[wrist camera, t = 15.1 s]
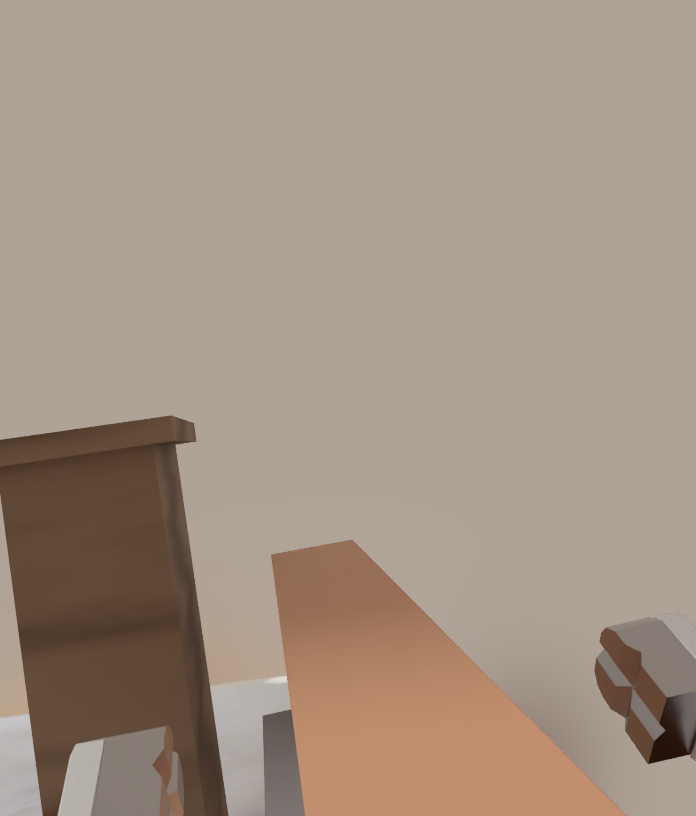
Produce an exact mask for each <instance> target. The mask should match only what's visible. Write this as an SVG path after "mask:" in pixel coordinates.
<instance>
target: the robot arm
mask: <svg viewBox="0 0 696 816" xmlns="http://www.w3.org/2000/svg"><path fill="white" fill-rule="evenodd" d="M600 643H601V644H602V646H603V647H604V650H603V651H602V652H601V653H600V654H599V656H598V657H597V658H596V664H595V675H596V679H597V684H598V687H599V689H600V691H601V693H602V695H603V698H604V699H605V701H606V702H607V704H608V705H609V707H610V708H611V709H612V710H613V711H615V712H617V713H618V714H620V715H622V716H623V717H625V718H626V723H625V726H626V727H625V730H626V732H627V734H628V735H629V737H630V738H631V740H632V741H633V742H634V744H635V746H636V747H637V749H638V750H639V752H640V753H641V754H642V756H643V757H644V759H645V760H646V762H647V763H648V764H650V763H655V762H659V761H664V760H667V759H672V758H676V757H681V756H685V755H689V754H691V758H693V759H694V760H695V761H696V627H695V626H694V625H693V624H692V622H691V621H690V620H689V619H688V618H687V617H686V616H685V615H683V614H681V613H679V612H674V613H669V614H665V615H661V616H657V617H653V618H651V617H648V618H645V619H640V620H636V621H632V622H627V623H623V624H619V625H615V626H611V627H607V628H605V629H604V630H603V631H602V633H601V637H600ZM183 814H184V785H183V773H182V767H181V762H180V758H179V755H178V753H176V752H174V751H173V735H172V732H171V729H170V726H169V725H168V726H163V727H158V728H153V729H148V730H143V731H138V732H133V733H127V734H122V735H117V736H112V737H107V738H102V739H97V740H93V741H88V742H83V743H79V744H76V745H75V747H74V749H73V751H72V753H71V755H70V759H69V764H68V769H67V773H66V778H65V783H64V788H63V793H62V797H61V802H60V807H59V812H58V816H182V815H183Z"/></svg>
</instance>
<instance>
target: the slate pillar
mask: <svg viewBox="0 0 696 816" xmlns="http://www.w3.org/2000/svg"><path fill="white" fill-rule="evenodd" d="M263 742H264V778H265V814H266V816H305V810H304V802H303V795H302V787H301V779H300V772H299V764H298V756H297V749H296V741H295V733H294V726H293V718H292V710H287V711H282V712H278V713H273V714H269V715H264V716H263Z"/></svg>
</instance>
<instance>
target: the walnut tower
mask: <svg viewBox="0 0 696 816" xmlns="http://www.w3.org/2000/svg"><path fill="white" fill-rule="evenodd" d="M195 441H196V436H195V429H194V423H192V422H189V421H186V420H183V419H180V418H177V417H174V416H165V417H158V418H151V419H144V420H137V421H131V422H124V423H116V424H109V425H102V426H95V427H88V428H82V429H74V430H67V431H60V432H53V433H46V434H40V435H32V436H25V437H18V438H11V439H4V440H0V495H1V503H2V510H3V517H4V525H5V532H6V540H7V548H8V555H9V563H10V571H11V578H12V585H13V592H14V601H15V608H16V616H17V623H18V631H19V638H20V646H21V653H22V661H23V669H24V676H25V684H26V691H27V698H28V707H29V714H30V722H31V729H32V737H33V744H34V752H35V759H36V767H37V775H38V782H39V790H40V797H41V805H42V812H43V816H58V812H59V807H60V802H61V797H62V793H63V788H64V783H65V778H66V773H67V769H68V764H69V759H70V755H71V753H72V751H73V749H74V747H75V745H76V744H79V743H83V742H88V741H93V740H97V739H102V738H107V737H112V736H117V735H122V734H127V733H133V732H138V731H143V730H148V729H153V728H158V727H163V726H168V725H169V726H170V729H171V732H172V735H173V751H174V752H176V753H178V755H179V758H180V762H181V767H182V773H183V785H184V814H183V815H182V816H228V810H227V803H226V796H225V789H224V782H223V775H222V768H221V761H220V754H219V747H218V740H217V733H216V726H215V719H214V712H213V705H212V698H211V691H210V684H209V678H208V670H207V664H206V656H205V649H204V643H203V635H202V628H201V621H200V615H199V607H198V601H197V593H196V587H195V579H194V572H193V566H192V558H191V551H190V545H189V538H188V531H187V524H186V517H185V510H184V503H183V496H182V489H181V481H180V474H179V467H178V460H177V454H176V447H175V445H176V444H182V443H189V442H195Z"/></svg>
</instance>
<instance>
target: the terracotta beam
mask: <svg viewBox="0 0 696 816" xmlns="http://www.w3.org/2000/svg"><path fill="white" fill-rule="evenodd" d="M271 557H272V565H273V573H274V580H275V588H276V596H277V603H278V610H279V618H280V626H281V634H282V641H283V648H284V657H285V664H286V672H287V680H288V687H289V695H290V703H291V710H292V718H293V726H294V733H295V741H296V749H297V756H298V764H299V772H300V779H301V787H302V795H303V802H304V810H305V816H626V815H625V814H624V813H623V812H622V811H621V810H620V809H619V807H618V806H617V805H616V804H614V803H613V801H612V800H611V799H610V798H609V797H608V796H607V795H606V794H604V792H602V790H600V789H599V788H598V786H597V785H596V784H595V783H594V782H593V781H592V780H591V779H589V777H587V775H586V774H585V773H584V772H583V771H582V770H581V769H580V768H579V767H577V765H576V764H575V763H574V762H573V761H572V760H571V759H570V758H569V757H568V756H567V755H566V754H565V753H564V752H563V751H562V750H561V749H560V748H558V746H557V745H556V744H555V743H554V742H553V741H552V740H551V739H550V738H549V737H548V736H547V735H546V734H545V733H544V732H543V731H542V730H541V729H540V728H539V727H538V726H537V725H536V724H535V723H534V722H533V721H532V720H531V719H530V718H529V717H528V716H527V715H526V714H525V713H524V712H523V711H522V710H521V709H520V708H519V707H518V706H517V705H516V704H515V703H514V702H513V701H512V700H511V699H510V698H509V697H508V696H507V695H506V694H505V693H504V692H503V691H502V690H501V689H500V688H499V687H498V686H497V685H496V684H495V683H494V682H493V681H492V680H491V679H490V678H489V677H488V676H487V675H486V674H485V673H484V672H483V671H482V670H481V669H480V668H479V667H478V666H477V665H476V664H475V663H474V662H473V661H472V660H471V659H470V658H469V657H468V656H467V655H466V654H465V653H464V652H463V651H462V650H461V649H460V648H459V647H458V646H457V645H456V644H455V643H454V642H453V641H452V640H451V639H450V638H449V637H448V636H447V635H446V634H445V633H444V632H443V631H442V630H441V629H440V627H438V625H436V624H435V622H434V621H433V620H432V619H431V618H430V617H429V616H428V615H427V614H425V612H424V611H423V610H422V609H421V608H420V607H419V606H418V605H416V603H415V602H414V601H413V600H411V598H410V597H409V596H408V595H407V594H406V593H405V592H404V591H403V590H402V589H401V588H400V587H399V586H398V585H397V584H396V583H395V582H394V581H393V580H392V579H391V578H390V577H389V576H388V575H387V574H386V573H385V572H384V571H383V570H382V569H381V568H380V567H379V566H378V565H377V564H376V563H375V562H374V561H373V560H372V559H371V558H370V557H369V556H368V555H367V554H366V553H365V552H364V551H363V550H362V549H361V548H360V547H359V546H358V545H357V544H356V543H355V542H354V541H353V540H349V541H343V542H338V543H332V544H327V545H321V546H316V547H310V548H305V549H299V550H294V551H289V552H283V553H277V554H273V555H271Z"/></svg>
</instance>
